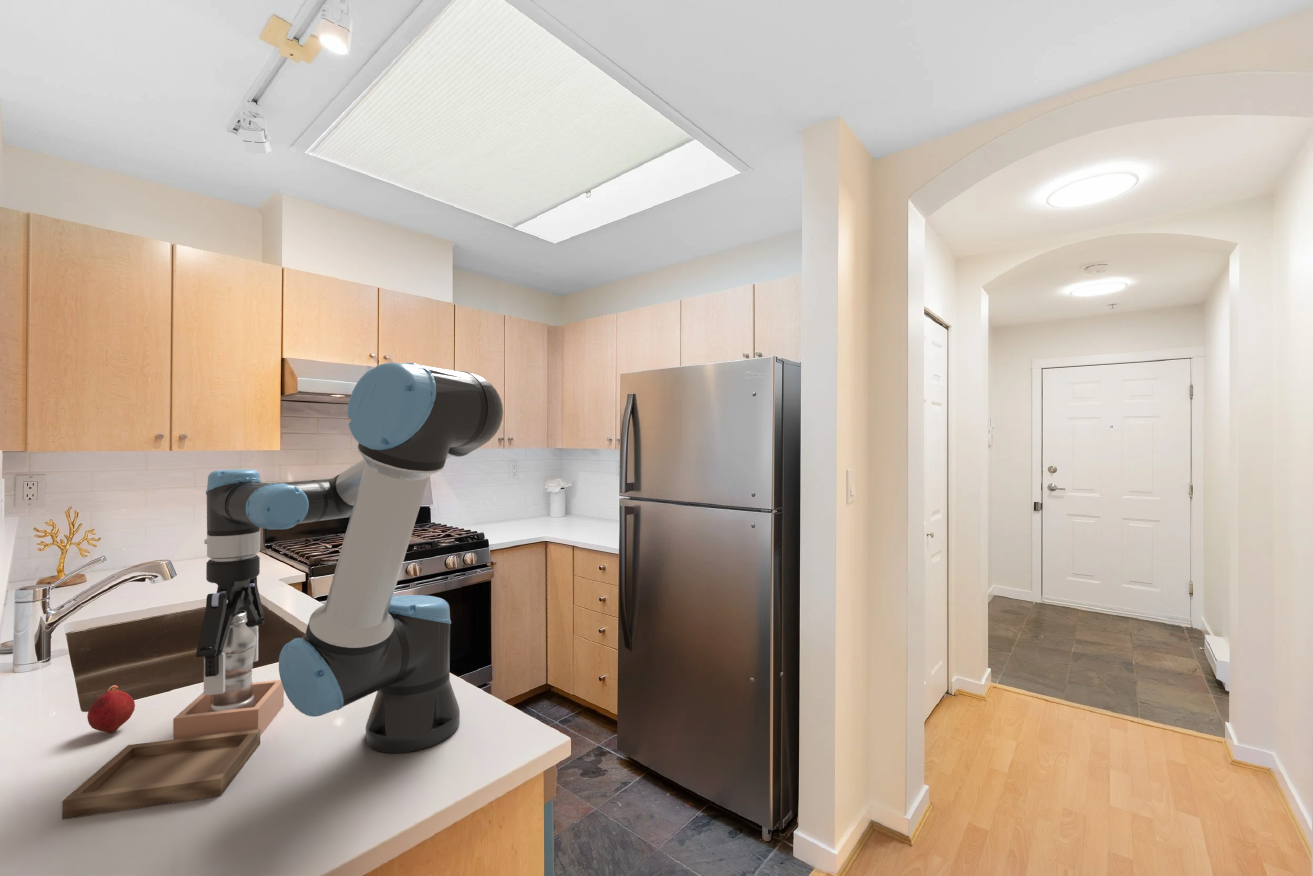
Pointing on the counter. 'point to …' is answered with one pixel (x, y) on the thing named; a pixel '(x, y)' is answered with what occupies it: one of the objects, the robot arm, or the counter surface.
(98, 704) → the onion
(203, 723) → the wooden box frame
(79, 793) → the tray
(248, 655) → the plastic bottle
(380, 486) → the robot arm
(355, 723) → the counter surface
